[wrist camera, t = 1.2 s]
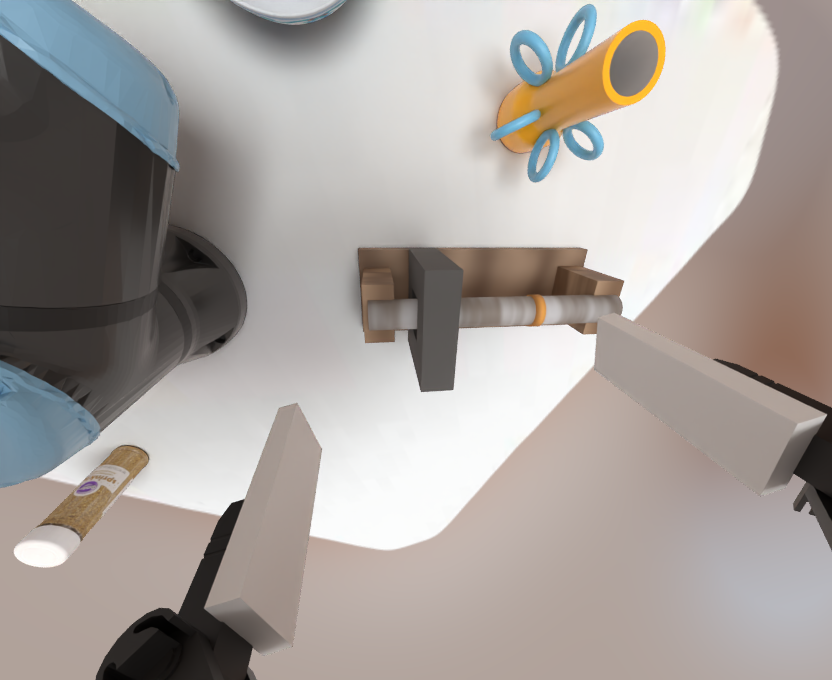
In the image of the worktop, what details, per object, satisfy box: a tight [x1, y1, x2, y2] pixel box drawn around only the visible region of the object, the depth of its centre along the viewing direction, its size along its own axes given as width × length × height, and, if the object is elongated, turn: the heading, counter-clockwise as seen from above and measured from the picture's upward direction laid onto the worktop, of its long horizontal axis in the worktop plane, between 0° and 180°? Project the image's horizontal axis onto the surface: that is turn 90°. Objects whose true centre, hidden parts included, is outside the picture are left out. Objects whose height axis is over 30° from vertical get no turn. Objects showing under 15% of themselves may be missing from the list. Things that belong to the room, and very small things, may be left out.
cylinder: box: [491, 4, 665, 182], centre depth 25 cm, size 12×10×15 cm
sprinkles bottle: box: [14, 446, 148, 567], centre depth 37 cm, size 5×5×14 cm
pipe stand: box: [358, 248, 624, 343], centre depth 34 cm, size 28×10×11 cm, turn 89°
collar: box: [408, 248, 464, 392], centre depth 30 cm, size 3×11×11 cm, turn 179°
